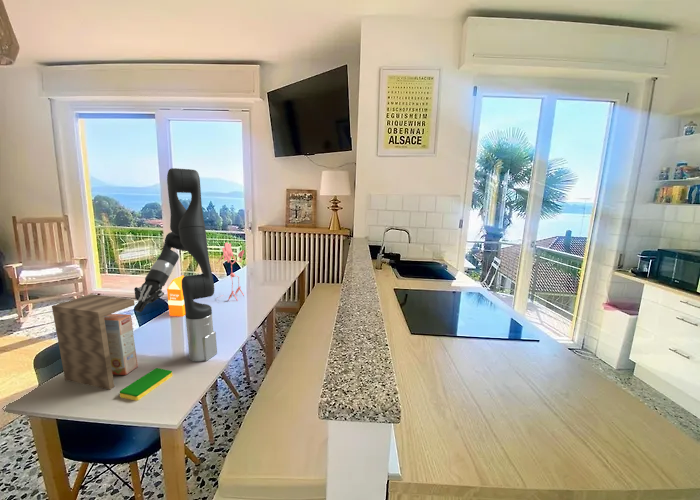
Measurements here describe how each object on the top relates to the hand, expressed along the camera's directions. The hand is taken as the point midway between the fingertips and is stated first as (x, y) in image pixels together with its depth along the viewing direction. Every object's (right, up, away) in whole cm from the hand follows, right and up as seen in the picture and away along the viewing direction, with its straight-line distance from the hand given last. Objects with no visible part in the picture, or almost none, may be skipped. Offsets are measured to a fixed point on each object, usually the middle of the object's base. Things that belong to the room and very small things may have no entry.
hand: (137, 311), depth 118 cm
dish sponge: (+15, -22, -16) cm, 32 cm away
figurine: (+9, -6, +69) cm, 70 cm away
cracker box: (-3, -20, -8) cm, 22 cm away
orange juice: (-8, -10, +45) cm, 47 cm away
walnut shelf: (-4, -20, -11) cm, 23 cm away
